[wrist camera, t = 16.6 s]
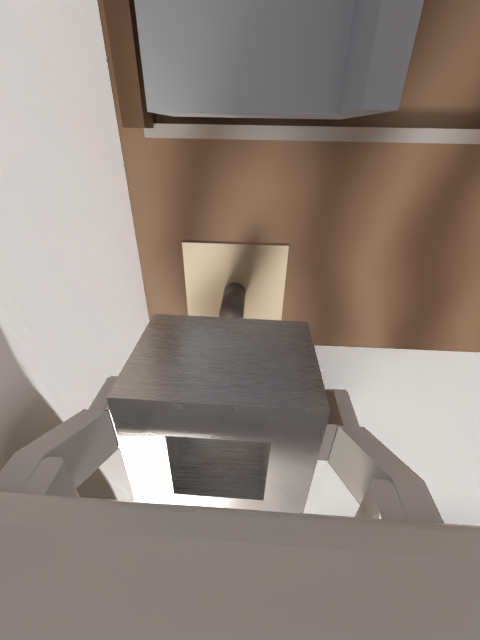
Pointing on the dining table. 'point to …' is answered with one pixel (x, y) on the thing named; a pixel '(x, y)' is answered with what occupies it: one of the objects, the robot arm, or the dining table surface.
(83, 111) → the dining table surface
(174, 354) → the block
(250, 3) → the cover
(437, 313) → the base
